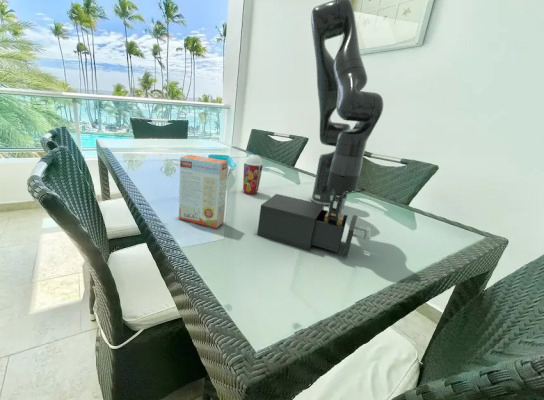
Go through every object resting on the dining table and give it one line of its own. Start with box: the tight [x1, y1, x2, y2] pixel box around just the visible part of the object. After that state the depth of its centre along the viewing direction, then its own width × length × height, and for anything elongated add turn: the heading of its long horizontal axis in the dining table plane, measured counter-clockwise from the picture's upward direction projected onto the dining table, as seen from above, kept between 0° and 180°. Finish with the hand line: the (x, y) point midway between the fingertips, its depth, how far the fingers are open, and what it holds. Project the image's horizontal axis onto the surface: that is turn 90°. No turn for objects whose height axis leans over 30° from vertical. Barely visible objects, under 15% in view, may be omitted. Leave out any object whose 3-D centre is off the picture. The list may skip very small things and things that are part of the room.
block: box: [324, 210, 345, 226], centre depth 78 cm, size 4×4×4 cm
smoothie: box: [242, 147, 264, 195], centre depth 120 cm, size 8×8×20 cm
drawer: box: [311, 209, 372, 258], centre depth 79 cm, size 19×13×8 cm
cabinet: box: [256, 193, 325, 251], centre depth 84 cm, size 16×14×10 cm
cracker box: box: [178, 154, 229, 229], centre depth 86 cm, size 14×6×21 cm, turn 65°
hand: (331, 228), depth 79 cm, fingers closed on block, 4 cm apart
